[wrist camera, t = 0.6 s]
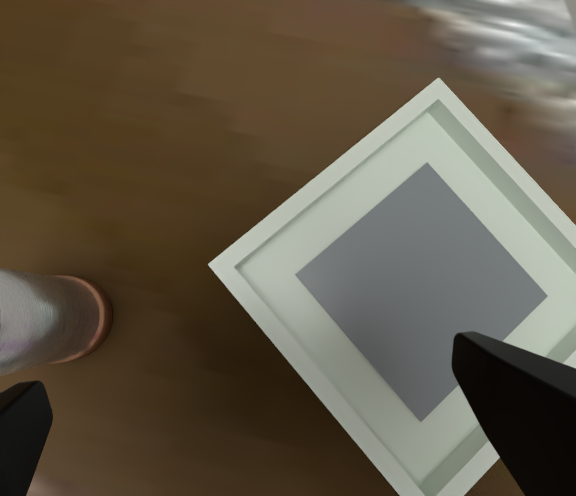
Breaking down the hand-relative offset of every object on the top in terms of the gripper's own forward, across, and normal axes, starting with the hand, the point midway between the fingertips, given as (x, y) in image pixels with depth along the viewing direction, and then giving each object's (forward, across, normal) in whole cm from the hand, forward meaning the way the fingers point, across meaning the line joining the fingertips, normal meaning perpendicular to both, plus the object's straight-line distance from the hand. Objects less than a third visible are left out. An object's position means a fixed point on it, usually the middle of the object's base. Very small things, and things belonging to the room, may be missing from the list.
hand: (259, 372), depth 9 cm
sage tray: (+14, -10, +5) cm, 18 cm away
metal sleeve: (+14, +11, +5) cm, 19 cm away
